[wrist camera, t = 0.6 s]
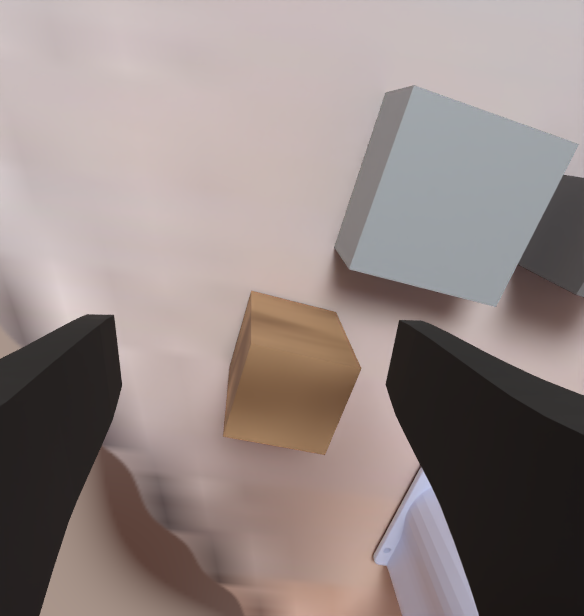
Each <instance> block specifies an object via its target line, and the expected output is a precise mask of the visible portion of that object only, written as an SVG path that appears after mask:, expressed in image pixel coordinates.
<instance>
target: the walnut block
mask: <svg viewBox="0 0 584 616" xmlns="http://www.w3.org/2000/svg"><path fill="white" fill-rule="evenodd" d="M360 371H361V367H360V364H359V362H358V360H357V358H356V356H355V353H354V351H353V349H352V347H351V344H350V342H349V340H348V338H347V336H346V333H345V331H344V329H343V327H342V324H341V322H340V320H339V318H338V316H337V313H336V312H333V311H329V310H325V309H321V308H317V307H313V306H309V305H306V304H302V303H298V302H294V301H290V300H286V299H282V298H278V297H274V296H270V295H266V294H262V293H258V292H254V291H251V294H250V298H249V301H248V304H247V308H246V311H245V315H244V318H243V322H242V325H241V329H240V332H239V336H238V339H237V343H236V346H235V350H234V353H233V357H232V360H231V364H230V368H229V379H228V389H227V400H226V410H225V421H224V432H223V437H228V438H234V439H239V440H245V441H250V442H256V443H261V444H267V445H272V446H278V447H284V448H289V449H295V450H300V451H306V452H311V453H317V454H322V455H325V453H326V451H327V449H328V446H329V444H330V442H331V439H332V437H333V434H334V432H335V430H336V427H337V425H338V423H339V420H340V418H341V416H342V413H343V411H344V408H345V406H346V404H347V401H348V399H349V397H350V394H351V392H352V390H353V387H354V385H355V382H356V380H357V378H358V375H359V373H360Z"/></svg>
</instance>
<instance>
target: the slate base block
mask: <svg viewBox="0 0 584 616" xmlns="http://www.w3.org/2000/svg"><path fill="white" fill-rule="evenodd" d="M578 145H579V144H577V143H574V142H571V141H569V140H566V139H563V138H560V137H557V136H555V135H552V134H549V133H546V132H543V131H541V130H538V129H535V128H532V127H529V126H527V125H524V124H521V123H518V122H515V121H513V120H510V119H507V118H504V117H501V116H499V115H496V114H493V113H490V112H487V111H484V110H482V109H479V108H476V107H473V106H470V105H468V104H465V103H462V102H459V101H456V100H454V99H451V98H448V97H445V96H442V95H440V94H437V93H434V92H431V91H428V90H426V89H423V88H420V87H417V86H410V87H406V88H402V89H398V90H394V91H390V92H386V93H385V96H384V99H383V102H382V105H381V108H380V111H379V114H378V117H377V120H376V123H375V126H374V129H373V132H372V135H371V138H370V141H369V144H368V147H367V150H366V153H365V156H364V159H363V162H362V165H361V168H360V171H359V174H358V177H357V180H356V183H355V186H354V189H353V192H352V195H351V198H350V201H349V204H348V207H347V210H346V213H345V216H344V219H343V222H342V225H341V228H340V231H339V234H338V238H337V241H336V244H335V247H334V248H335V249H336V251H337V252H338V254H339V255H340V257H341V258H342V260H343V261H344V262H345V264H346V265H347V267H348V268H349V269H350V270H354V271H358V272H362V273H366V274H369V275H373V276H377V277H381V278H385V279H389V280H393V281H397V282H401V283H404V284H408V285H412V286H416V287H420V288H424V289H428V290H432V291H436V292H439V293H443V294H447V295H451V296H455V297H459V298H463V299H467V300H471V301H475V302H478V303H482V304H486V305H490V306H494V307H496V306H497V304H498V302H499V300H500V298H501V296H502V294H503V292H504V290H505V288H506V286H507V284H508V282H509V280H510V278H511V277H512V275H513V273H514V271H515V269H516V267H517V265H518V263H519V261H520V259H521V257H522V255H523V253H524V251H525V249H526V247H527V245H528V243H529V241H530V239H531V237H532V235H533V233H534V231H535V229H536V227H537V225H538V224H539V222H540V220H541V218H542V216H543V214H544V212H545V210H546V208H547V206H548V204H549V202H550V200H551V198H552V196H553V194H554V192H555V190H556V188H557V186H558V184H559V182H560V180H561V178H562V176H563V174H564V173H565V171H566V169H567V167H568V165H569V163H570V161H571V159H572V157H573V155H574V153H575V151H576V149H577V147H578Z"/></svg>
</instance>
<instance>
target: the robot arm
mask: <svg viewBox="0 0 584 616" xmlns="http://www.w3.org/2000/svg"><path fill="white" fill-rule="evenodd" d="M121 387H122V380H121V371H120V363H119V354H118V345H117V337H116V328H115V320H114V315H89V314H87V315H85V316H82V317H80V318H78V319H76V320H73V321H71V322H70V323H68V324H66V325H64V326H62V327H60V328H58V329H56V330H55V331H53V332H51V333H49V334H47V335H45V336H43V337H42V338H40V339H38V340H36V341H34V342H32V343H30V344H29V345H27V346H25V347H23V348H21V349H19V350H17V351H15V352H13V353H11V354H9V355H7V356H5V357H3V358H1V359H0V616H39V615H40V611H41V608H42V605H43V602H44V598H45V595H46V591H47V588H48V585H49V582H50V578H51V575H52V571H53V568H54V565H55V562H56V559H57V556H58V553H59V550H60V547H61V544H62V541H63V537H64V534H65V531H66V528H67V525H68V522H69V519H70V517H71V514H72V512H73V509H74V507H75V504H76V502H77V500H78V497H79V495H80V493H81V491H82V488H83V486H84V484H85V482H86V479H87V477H88V475H89V473H90V470H91V468H92V466H93V464H94V461H95V459H96V457H97V455H98V452H99V450H100V448H101V446H102V443H103V441H104V439H105V436H106V434H107V432H108V430H109V427H110V425H111V422H112V420H113V417H114V413H115V410H116V406H117V403H118V399H119V395H120V391H121ZM386 387H387V390H388V393H389V397H390V400H391V403H392V406H393V409H394V412H395V414H396V417H397V419H398V421H399V423H400V425H401V427H402V429H403V431H404V433H405V435H406V437H407V439H408V442H409V443H410V445H411V447H412V449H413V451H414V453H415V455H416V457H417V459H418V461H419V463H420V465H421V468H420V470H419V472H418V474H417V475H416V477H415V479H414V481H413V483H412V485H411V487H410V488H409V490H408V492H407V494H406V496H405V498H404V500H403V501H402V503H401V505H400V507H399V509H398V511H397V513H396V514H395V516H394V518H393V520H392V522H391V524H390V526H389V527H388V529H387V531H386V533H385V535H384V537H383V539H382V540H381V542H380V544H379V546H378V548H377V550H376V552H375V553H374V556H373V557H374V561H375V563H376V564H379V565H385V566H387V568H388V571H389V574H390V578H391V581H392V584H393V587H394V591H395V594H396V597H397V601H398V604H399V607H400V610H401V614H402V616H584V395H581V394H578V393H576V392H573V391H570V390H568V389H565V388H563V387H560V386H558V385H555V384H553V383H550V382H548V381H545V380H543V379H541V378H538V377H536V376H534V375H532V374H529V373H527V372H525V371H523V370H521V369H519V368H517V367H514V366H512V365H510V364H508V363H506V362H504V361H502V360H500V359H498V358H496V357H494V356H492V355H490V354H488V353H486V352H484V351H482V350H480V349H478V348H477V347H475V346H473V345H471V344H469V343H467V342H465V341H463V340H461V339H459V338H458V337H456V336H454V335H452V334H450V333H448V332H446V331H444V330H442V329H440V328H438V327H436V326H434V325H431V324H429V323H426V322H424V321H412V320H399V324H398V329H397V333H396V338H395V343H394V347H393V352H392V357H391V362H390V366H389V371H388V376H387V381H386Z"/></svg>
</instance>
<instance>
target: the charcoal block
mask: <svg viewBox="0 0 584 616" xmlns="http://www.w3.org/2000/svg"><path fill="white" fill-rule="evenodd" d="M518 265H520V266H522V267H524V268H526V269H527V270H529V271H531V272H533V273H535V274H537V275H539V276H541V277H543V278H545V279H547V280H549V281H551V282H552V283H554V284H556V285H558V286H560V287H562V288H564V289H566V290H568V291H570V292H572V293H574V294H575V295H578V296H582V297H584V178H580V177H574V176H567V175H563V176H562V178H561V180H560V182H559V184H558V186H557V188H556V190H555V192H554V194H553V196H552V198H551V200H550V202H549V204H548V206H547V208H546V210H545V212H544V214H543V216H542V218H541V220H540V222H539V224H538V225H537V227H536V229H535V231H534V233H533V235H532V237H531V239H530V241H529V243H528V245H527V247H526V249H525V251H524V253H523V255H522V257H521V259H520V261H519V263H518Z"/></svg>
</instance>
